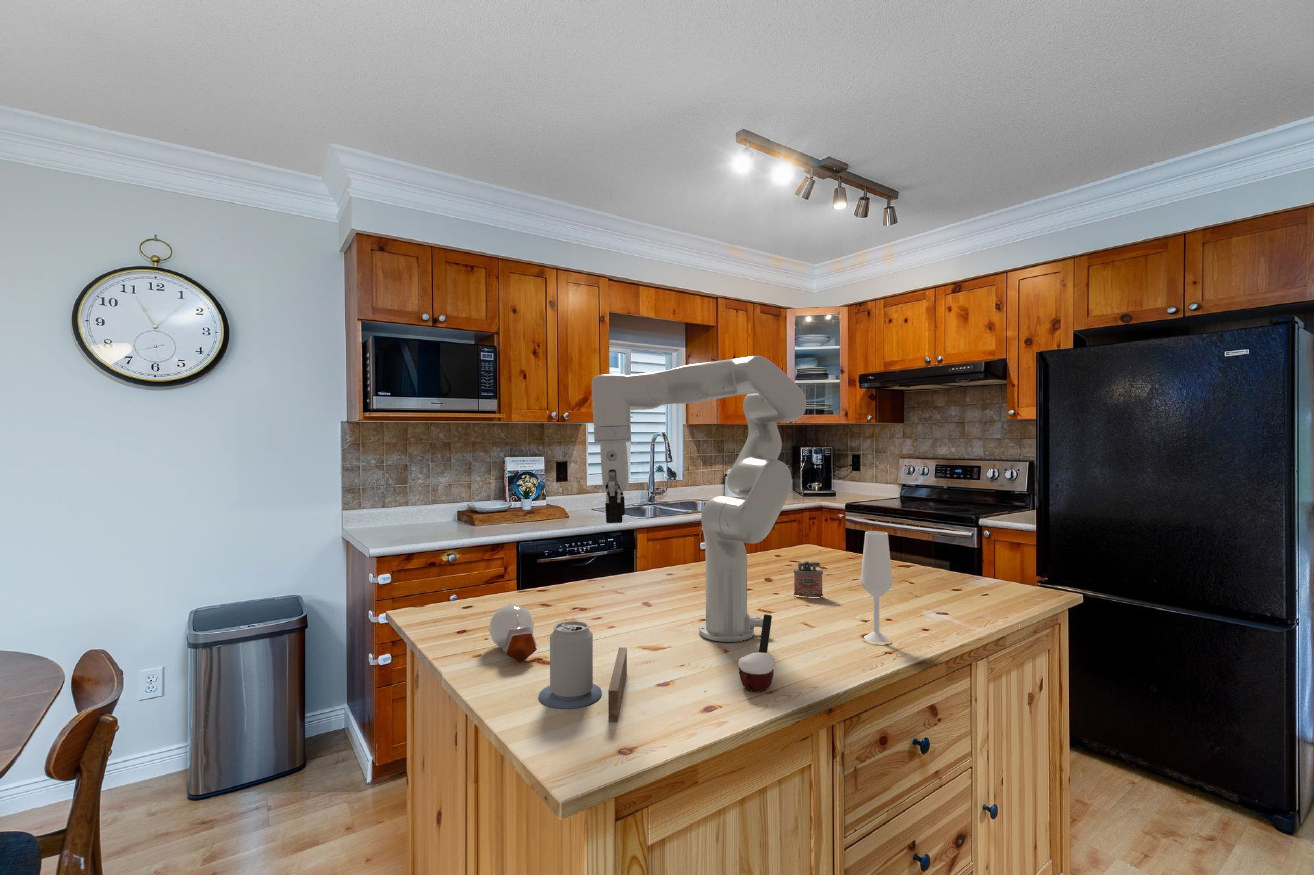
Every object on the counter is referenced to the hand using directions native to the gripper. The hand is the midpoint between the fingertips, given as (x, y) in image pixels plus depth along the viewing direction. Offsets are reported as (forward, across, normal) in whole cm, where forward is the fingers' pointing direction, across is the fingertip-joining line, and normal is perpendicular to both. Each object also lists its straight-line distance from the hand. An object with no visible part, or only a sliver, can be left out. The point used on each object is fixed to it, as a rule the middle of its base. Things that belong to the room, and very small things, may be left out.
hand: (615, 518), depth 127 cm
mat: (+28, -18, +8) cm, 34 cm away
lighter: (+32, +47, -50) cm, 76 cm away
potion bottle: (+28, +4, +23) cm, 37 cm away
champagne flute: (+31, +10, -56) cm, 65 cm away
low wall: (+28, -18, 0) cm, 34 cm away
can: (+28, -18, +8) cm, 34 cm away
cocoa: (+30, -15, -26) cm, 42 cm away
